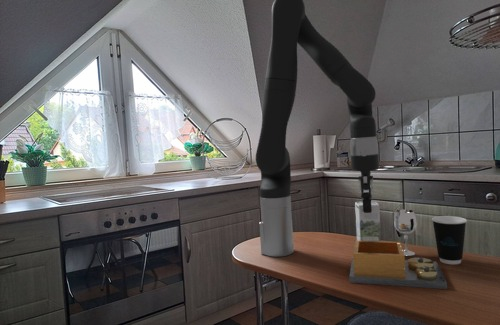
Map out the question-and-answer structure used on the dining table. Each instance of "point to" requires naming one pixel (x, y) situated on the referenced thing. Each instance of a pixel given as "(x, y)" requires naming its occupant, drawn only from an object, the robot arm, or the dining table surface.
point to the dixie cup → (449, 238)
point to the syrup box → (367, 222)
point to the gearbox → (392, 266)
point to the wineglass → (405, 225)
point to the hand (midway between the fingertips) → (367, 209)
